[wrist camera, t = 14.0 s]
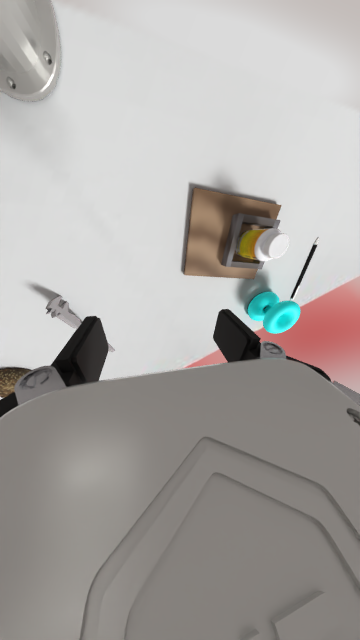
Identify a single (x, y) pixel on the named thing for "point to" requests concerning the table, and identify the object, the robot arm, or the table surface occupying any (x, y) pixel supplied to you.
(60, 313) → the caliper
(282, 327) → the donuts
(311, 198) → the table surface
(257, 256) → the supplement bottle
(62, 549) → the robot arm
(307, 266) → the pen
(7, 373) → the bread roll
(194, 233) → the board
